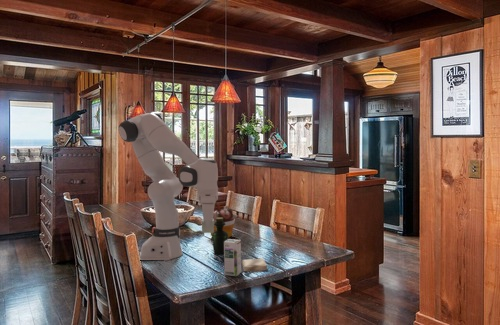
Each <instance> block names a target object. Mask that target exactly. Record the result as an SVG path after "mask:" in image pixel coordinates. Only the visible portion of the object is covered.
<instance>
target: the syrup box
mask: <svg viewBox="0 0 500 325" xmlns="http://www.w3.org/2000/svg"><path fill="white" fill-rule="evenodd" d="M241 243H242V240H241V239H234V238H233V239H231V238H228V240H226V241H225V242H224V255H223V256H224V258H223V259H224V276H229V277H237V276H239V275H240V274H241V273H242V244H241Z"/></svg>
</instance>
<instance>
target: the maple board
mask: <svg viewBox="0 0 500 325" xmlns="http://www.w3.org/2000/svg"><path fill="white" fill-rule="evenodd" d="M241 267H243V268H242V269H243V271H244V272H255V271H256V272H257V271H267V270H268V266H267V263H266V261H265V259H264V258H252V259H251V258H249V259H241Z"/></svg>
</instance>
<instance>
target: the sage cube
mask: <svg viewBox="0 0 500 325" xmlns="http://www.w3.org/2000/svg"><path fill="white" fill-rule="evenodd" d="M206 233H208V234H211V233H214V219H213V220H212V221H210V229H209V230H207V229H206V223H205V221H204V219H203V218H201V234H206Z"/></svg>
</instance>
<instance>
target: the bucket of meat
mask: <svg viewBox="0 0 500 325" xmlns="http://www.w3.org/2000/svg"><path fill="white" fill-rule="evenodd" d="M229 207H230V206H229V205H228V204H226V205H225V206H223V208H221V205H220V203H219V202H217V203H216V204H215V205H214V214H213V219H214V223H215V222H216V218H218V217H222V218H223V222H225V224H226V225H224V226H223V231H225V232H227V233H228V239H230V237H232V236H233V231H234V226H235V221H236V218H238V215H237V214H233V213H234V212H233V209H232V208H229ZM215 231H217V228H216V226H214V232H215ZM212 234H213V233H210V237H212Z"/></svg>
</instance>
